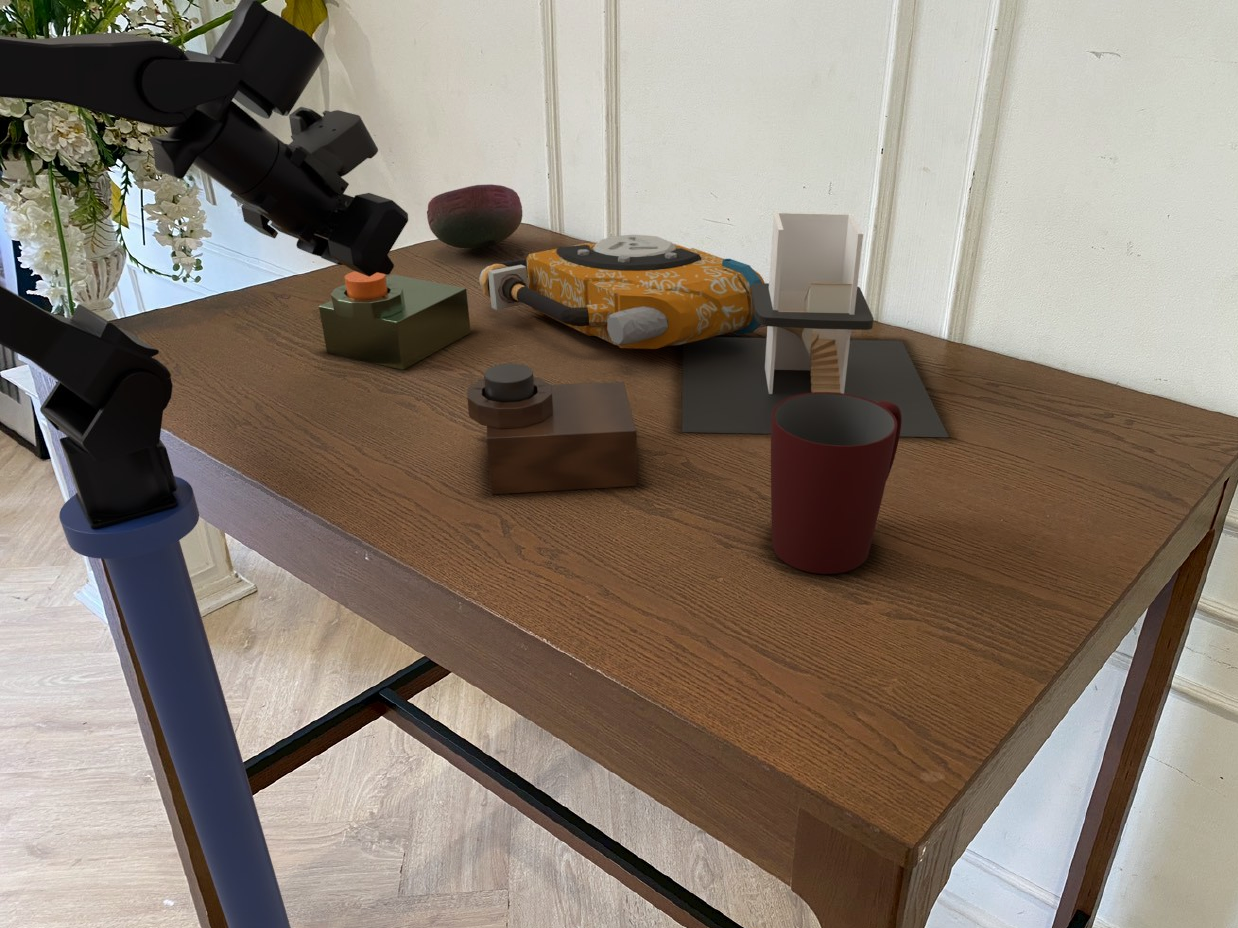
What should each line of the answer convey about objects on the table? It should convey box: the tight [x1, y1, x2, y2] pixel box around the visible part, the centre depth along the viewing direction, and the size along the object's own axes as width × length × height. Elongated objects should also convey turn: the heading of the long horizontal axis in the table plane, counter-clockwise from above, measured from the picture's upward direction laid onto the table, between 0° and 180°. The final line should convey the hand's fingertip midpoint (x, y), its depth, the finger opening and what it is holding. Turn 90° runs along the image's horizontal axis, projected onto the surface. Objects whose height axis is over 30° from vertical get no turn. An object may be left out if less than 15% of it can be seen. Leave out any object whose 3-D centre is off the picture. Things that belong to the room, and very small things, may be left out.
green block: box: [318, 274, 472, 371], centre depth 108 cm, size 13×10×7 cm
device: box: [478, 234, 766, 350], centre depth 114 cm, size 23×8×30 cm
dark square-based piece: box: [681, 211, 950, 438], centre depth 100 cm, size 25×24×16 cm
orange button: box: [344, 270, 388, 299], centre depth 104 cm, size 4×4×2 cm
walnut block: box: [466, 375, 638, 495], centre depth 86 cm, size 14×10×7 cm
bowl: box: [426, 183, 523, 249], centre depth 137 cm, size 16×13×8 cm
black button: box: [483, 362, 534, 403], centre depth 84 cm, size 4×4×2 cm
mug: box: [770, 392, 902, 575], centre depth 76 cm, size 12×9×11 cm
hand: (389, 269), depth 94 cm, fingers closed
